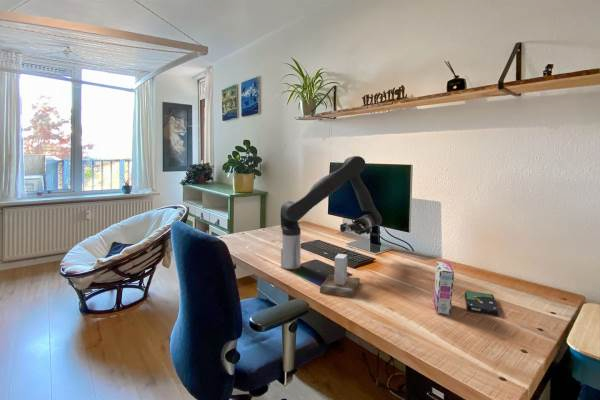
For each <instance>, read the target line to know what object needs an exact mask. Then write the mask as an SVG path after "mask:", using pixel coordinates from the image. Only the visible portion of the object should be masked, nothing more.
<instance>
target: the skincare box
mask: <svg viewBox="0 0 600 400" xmlns="http://www.w3.org/2000/svg"><path fill="white" fill-rule="evenodd" d="M333 268H334V274H333V275H334V284H337V285H344V284H345V282H346V281H347V277H348V254H345V253H337V254H336V255H335V257H334V267H333Z"/></svg>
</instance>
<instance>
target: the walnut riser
mask: <svg viewBox="0 0 600 400" xmlns="http://www.w3.org/2000/svg"><path fill="white" fill-rule="evenodd" d="M360 279H361V278H359V277H354V276H353V277H352V276H347V281H346V282H345V284H344V285H337V284H334V274H330V273H329V274H328V275H327V277H326V279H325V280H324V282H323V283H322V284H321V286H320V287H319V293H322V294H327V295H336V296H342V297H348V298H355V297H354V296H355V295H356V292H357V291H358V290H357V289H358V287H359V284H360V282H361V281H360Z"/></svg>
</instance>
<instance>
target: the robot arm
mask: <svg viewBox="0 0 600 400" xmlns="http://www.w3.org/2000/svg"><path fill="white" fill-rule="evenodd" d="M342 165H343V166H342V167H340V168H339V169H337V170H335V171H332V172H330V173H329V174H327V175H325V176H324V177H322V178H320V179H319V180H318V181H316V182H315V183H314V184H313V185H312V186H311V187H310V189H309V191H308V192H307V193H306V194H305V195H304V196H303V197H301V198H300V199H299V200H297V201H295V202H293V201H290V200H289V201H286V202H284V203H283V204H282V206H281V207H280V228H281V233H282V234H281V235H282V239H281V240H282V241H281V243H282V244H281V245H282V246H281V249H280V268H283V269H286V270H296V269H299V268H301V263H302V262H301V261H302V260H301V257H302V256H301V255H302V253H301V247H302V246H301V239H302V237H301V233H302V232H301V230H302V229H301V226H300V225H299V221H300V220H301V219H302V218H303V217H305V216H306V214H307V213H308V212H310V210H311V209H314V207H315V206H317V205H318V204H320V203H321V202H322V201H324V200H325V199H327V198H328V197H329V196H330V195H332V194H333V193H334V192H336V191H337V190H338V189H340V188H341V187H342V186H343V185H344V184H345V183H346V182H348V181H350V184H351V185H352V188H353V190H354V192H355V195H356V198H357V200H358V204H359V207H360V209H361V211H362V212H369V213H368V214H364V215H362V217H361V216H360V217H359V218H357V219H354V221H353V222H352V223H347V222H344V223H342V224H339V226H340V227H339V230H340V232H341V233H344V232H353V233H355V234H357V235H359V236H361V235H365V234H367V235H370V234H371V233H372V230H373V229H372V228H373V227H376V226H380V225H382V222H383V218H382V215H381V214H380V212H379V211H378V210H377V208H376V206H375V204H374V202H373V199H372V196H371V194H370V191H369V190H368V188H367V186H366V185H365V184H364V182H363V180H362V178H361V175H360V173H362V172H363V171H364V169H365V167H366V160H365V159H364V158H363V157H362V156H360V155H353V156H350V157H347V158H346V159H344V161H343V164H342Z"/></svg>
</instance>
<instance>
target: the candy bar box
mask: <svg viewBox="0 0 600 400" xmlns="http://www.w3.org/2000/svg"><path fill="white" fill-rule="evenodd" d="M435 266H436V267H435V277H434V278H435V279H434V291H433V292H434V293H433V303H434V307H435V309H434V310H435V313H436V314H438V315H444V316H451V311H452V310H451V309H452V300H453V298H452V297H453V291H454V290H453V289H454V278H455V276H454V275H455V271H454V270H453V268H452V265H451V263H450V262H446V261H436V265H435Z"/></svg>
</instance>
